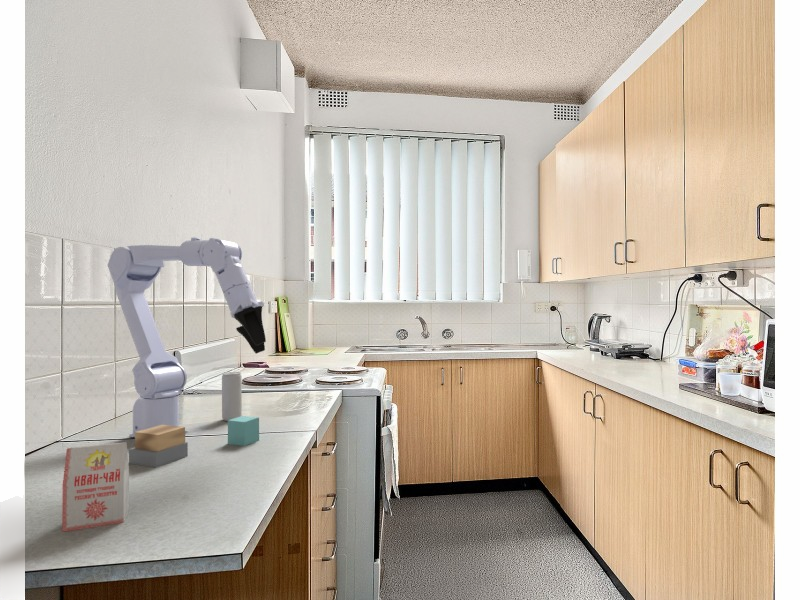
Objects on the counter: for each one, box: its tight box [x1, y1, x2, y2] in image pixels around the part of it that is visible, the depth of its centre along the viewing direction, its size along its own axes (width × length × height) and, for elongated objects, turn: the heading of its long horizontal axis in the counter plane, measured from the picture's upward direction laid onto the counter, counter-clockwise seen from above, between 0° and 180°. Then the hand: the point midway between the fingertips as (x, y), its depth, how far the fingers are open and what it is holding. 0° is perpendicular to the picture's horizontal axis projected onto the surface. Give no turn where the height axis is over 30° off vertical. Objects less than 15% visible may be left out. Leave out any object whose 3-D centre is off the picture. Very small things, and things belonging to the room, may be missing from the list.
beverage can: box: [221, 371, 243, 422], centre depth 120 cm, size 5×5×12 cm
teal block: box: [227, 415, 260, 447], centre depth 99 cm, size 4×4×5 cm
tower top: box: [134, 425, 186, 451], centre depth 88 cm, size 6×6×3 cm
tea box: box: [61, 441, 130, 532], centre depth 61 cm, size 4×7×10 cm, turn 111°
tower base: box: [128, 441, 189, 468], centre depth 87 cm, size 7×7×3 cm
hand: (260, 347), depth 96 cm, fingers open, 7 cm apart
